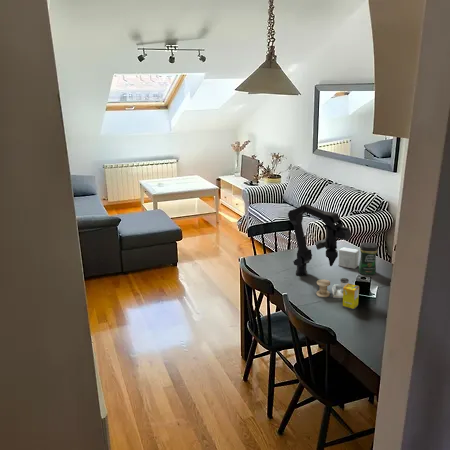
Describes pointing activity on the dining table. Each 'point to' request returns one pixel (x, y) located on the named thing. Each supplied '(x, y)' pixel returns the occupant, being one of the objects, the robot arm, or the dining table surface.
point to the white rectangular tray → (337, 291)
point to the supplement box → (350, 296)
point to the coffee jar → (368, 258)
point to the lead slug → (343, 284)
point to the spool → (323, 288)
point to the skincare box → (348, 257)
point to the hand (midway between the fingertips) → (330, 262)
